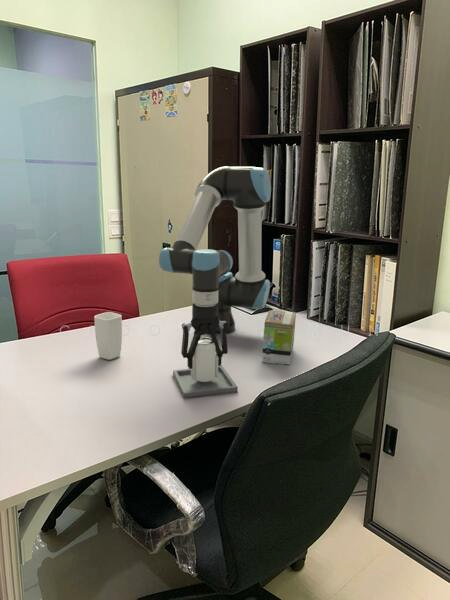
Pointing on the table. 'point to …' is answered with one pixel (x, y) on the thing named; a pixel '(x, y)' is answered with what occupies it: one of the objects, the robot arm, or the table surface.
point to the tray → (204, 384)
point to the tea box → (278, 337)
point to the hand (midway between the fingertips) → (204, 376)
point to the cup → (108, 334)
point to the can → (205, 360)
